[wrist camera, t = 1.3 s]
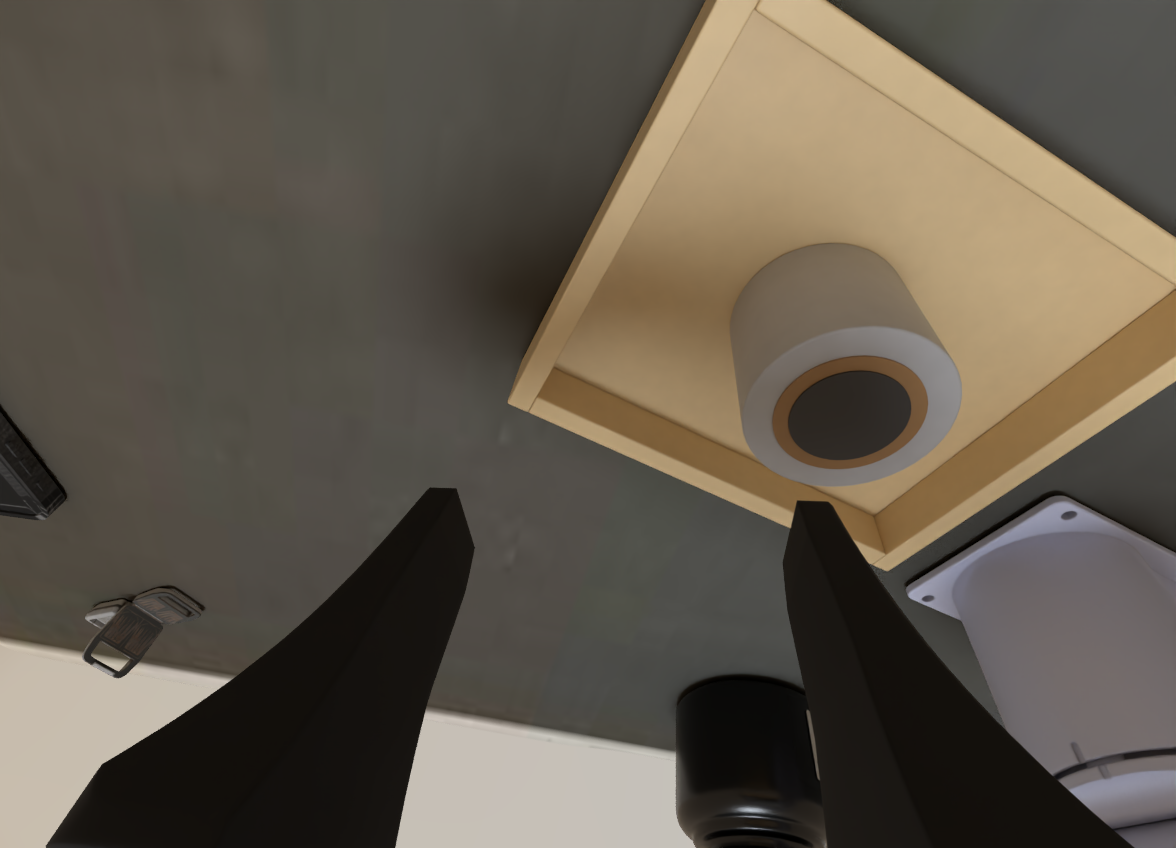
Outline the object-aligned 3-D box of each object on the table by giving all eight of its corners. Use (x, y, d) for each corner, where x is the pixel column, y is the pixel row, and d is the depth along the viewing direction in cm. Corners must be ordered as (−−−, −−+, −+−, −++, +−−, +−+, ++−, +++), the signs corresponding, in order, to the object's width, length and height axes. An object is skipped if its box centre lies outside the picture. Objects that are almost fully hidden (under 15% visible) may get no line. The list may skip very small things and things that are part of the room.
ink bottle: (771, 751, 41) (798, 983, 32) (653, 721, 41) (647, 952, 31) (851, 694, 35) (912, 963, 26) (714, 657, 34) (728, 923, 25)
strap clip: (128, 629, 41) (81, 690, 37) (88, 605, 39) (36, 667, 36) (209, 610, 38) (166, 675, 34) (170, 583, 36) (120, 648, 33)
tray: (1214, 266, 17) (1283, 310, 15) (871, 522, 26) (887, 572, 24) (735, -59, 14) (745, -55, 12) (521, 361, 22) (506, 403, 20)
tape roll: (946, 293, 18) (1016, 390, 14) (825, 411, 21) (856, 514, 18) (801, 209, 17) (837, 291, 13) (697, 347, 20) (702, 443, 17)
